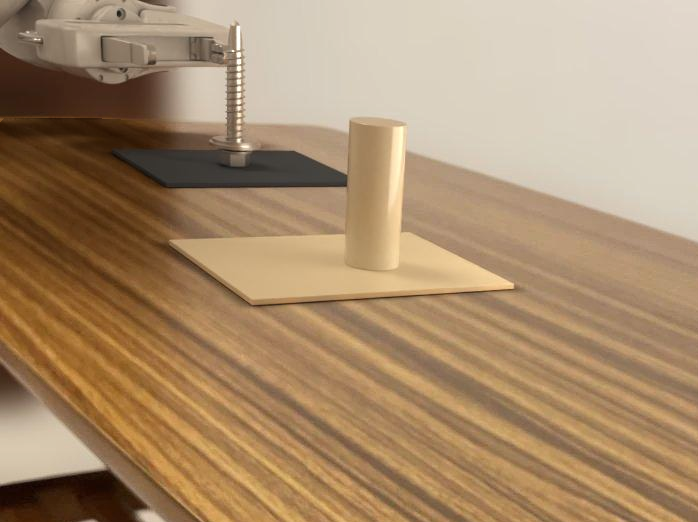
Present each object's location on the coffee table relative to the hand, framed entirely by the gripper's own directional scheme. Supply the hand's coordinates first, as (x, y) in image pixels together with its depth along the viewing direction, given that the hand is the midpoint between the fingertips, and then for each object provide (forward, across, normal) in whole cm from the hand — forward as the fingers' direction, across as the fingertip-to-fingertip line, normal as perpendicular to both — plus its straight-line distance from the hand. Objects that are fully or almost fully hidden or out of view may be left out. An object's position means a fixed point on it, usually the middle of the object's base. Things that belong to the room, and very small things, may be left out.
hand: (190, 55), depth 119 cm
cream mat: (+38, -18, +9) cm, 44 cm away
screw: (+7, 0, +9) cm, 11 cm away
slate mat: (+7, 0, +10) cm, 12 cm away
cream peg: (+40, -16, +9) cm, 44 cm away
